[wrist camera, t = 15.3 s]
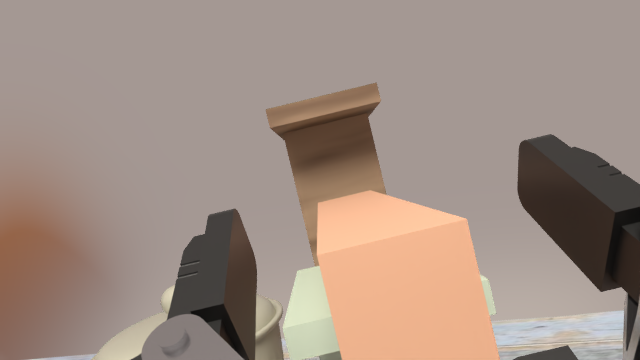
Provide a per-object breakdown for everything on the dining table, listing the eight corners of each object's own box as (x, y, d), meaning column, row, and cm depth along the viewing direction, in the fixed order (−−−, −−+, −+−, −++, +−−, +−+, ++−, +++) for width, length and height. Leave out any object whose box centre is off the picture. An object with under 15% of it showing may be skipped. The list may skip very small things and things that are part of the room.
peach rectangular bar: (502, 367, 11) (466, 218, 11) (352, 403, 11) (316, 255, 11) (382, 242, 32) (370, 190, 32) (330, 255, 32) (317, 202, 32)
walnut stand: (475, 498, 35) (376, 82, 34) (365, 523, 35) (265, 109, 34) (433, 409, 48) (361, 107, 47) (354, 428, 48) (281, 127, 47)
